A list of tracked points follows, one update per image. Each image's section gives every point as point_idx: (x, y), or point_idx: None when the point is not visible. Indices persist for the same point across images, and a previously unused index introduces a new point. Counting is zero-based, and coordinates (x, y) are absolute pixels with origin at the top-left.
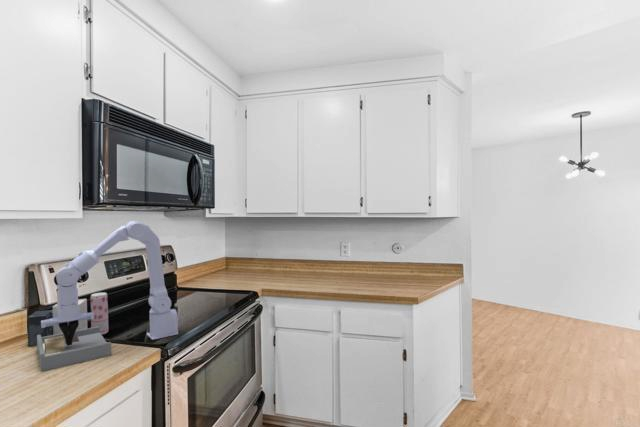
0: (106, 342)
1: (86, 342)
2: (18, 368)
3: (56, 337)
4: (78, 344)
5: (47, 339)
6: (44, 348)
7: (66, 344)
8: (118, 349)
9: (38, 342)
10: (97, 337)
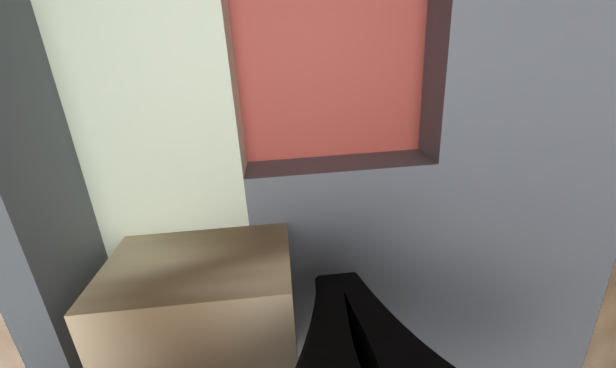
0: (592, 329)
1: (478, 238)
2: (11, 359)
3: (213, 320)
4: (410, 254)
5: (108, 343)
6: (111, 186)
7: (316, 189)
8: (595, 350)
9: (11, 326)
10: (606, 140)
